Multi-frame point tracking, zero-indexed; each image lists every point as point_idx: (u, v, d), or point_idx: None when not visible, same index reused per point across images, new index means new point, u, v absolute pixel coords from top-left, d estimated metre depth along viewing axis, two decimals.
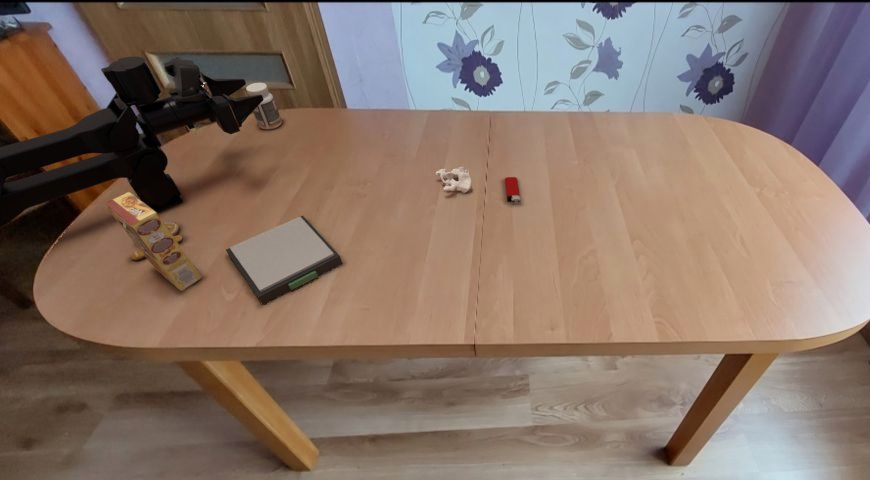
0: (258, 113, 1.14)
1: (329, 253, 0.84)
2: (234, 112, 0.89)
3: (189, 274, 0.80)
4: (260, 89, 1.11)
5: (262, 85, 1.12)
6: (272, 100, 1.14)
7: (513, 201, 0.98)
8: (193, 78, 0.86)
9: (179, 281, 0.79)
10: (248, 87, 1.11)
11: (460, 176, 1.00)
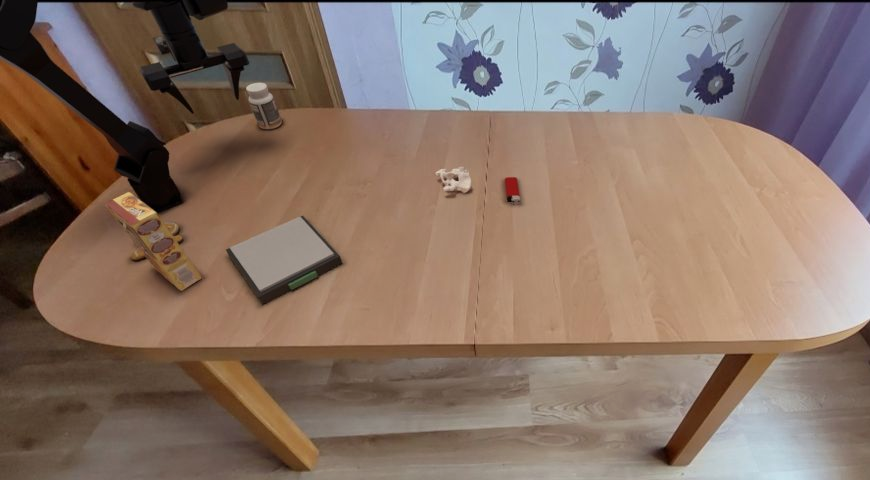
0: (258, 113, 1.14)
1: (329, 253, 0.84)
2: None
3: (189, 274, 0.80)
4: (260, 89, 1.11)
5: (262, 85, 1.12)
6: (272, 100, 1.14)
7: (513, 201, 0.98)
8: None
9: (179, 281, 0.79)
10: (248, 87, 1.11)
11: (460, 176, 1.00)
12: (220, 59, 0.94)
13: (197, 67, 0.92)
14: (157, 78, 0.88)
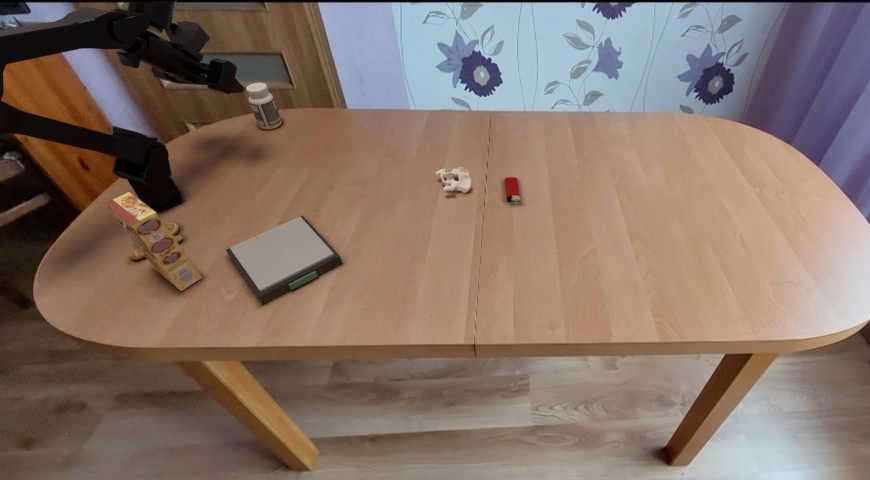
0: (258, 113, 1.14)
1: (329, 253, 0.84)
2: None
3: (189, 274, 0.80)
4: (260, 89, 1.11)
5: (262, 85, 1.12)
6: (272, 100, 1.14)
7: (513, 201, 0.98)
8: (202, 39, 0.93)
9: (179, 281, 0.79)
10: (248, 87, 1.11)
11: (460, 176, 1.00)
12: None
13: None
14: (159, 76, 0.97)
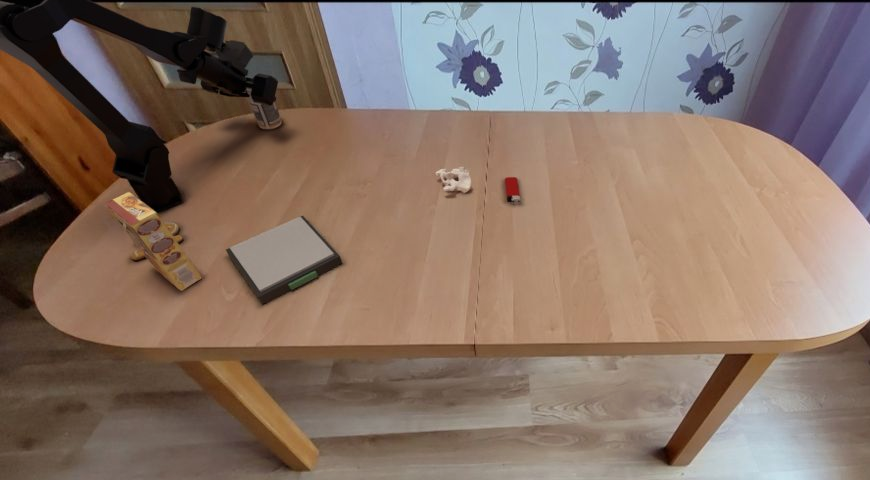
0: (258, 113, 1.14)
1: (329, 253, 0.84)
2: None
3: (189, 274, 0.80)
4: None
5: None
6: None
7: (513, 201, 0.98)
8: (247, 56, 1.04)
9: (179, 281, 0.79)
10: None
11: (460, 176, 1.00)
12: None
13: None
14: (207, 89, 1.08)
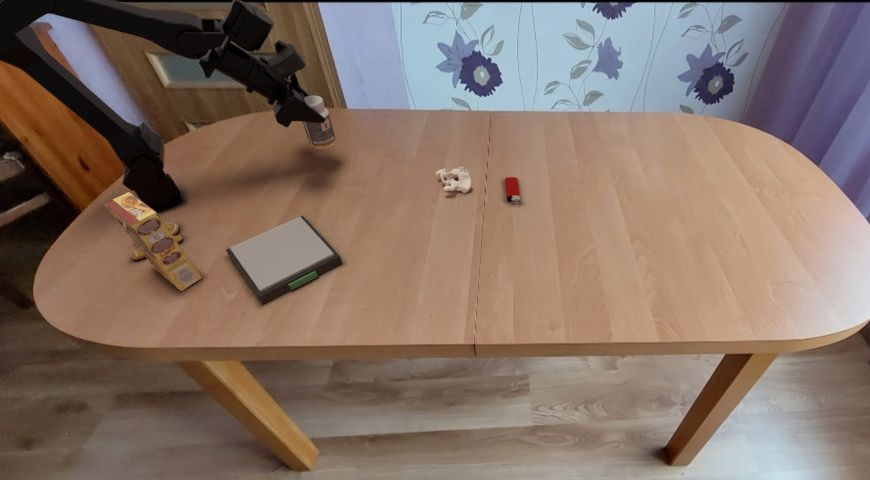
0: None
1: (329, 253, 0.84)
2: None
3: (189, 274, 0.80)
4: None
5: (317, 101, 0.96)
6: None
7: (513, 201, 0.98)
8: (293, 67, 0.88)
9: (179, 281, 0.79)
10: (305, 98, 0.96)
11: (460, 176, 1.00)
12: None
13: None
14: None
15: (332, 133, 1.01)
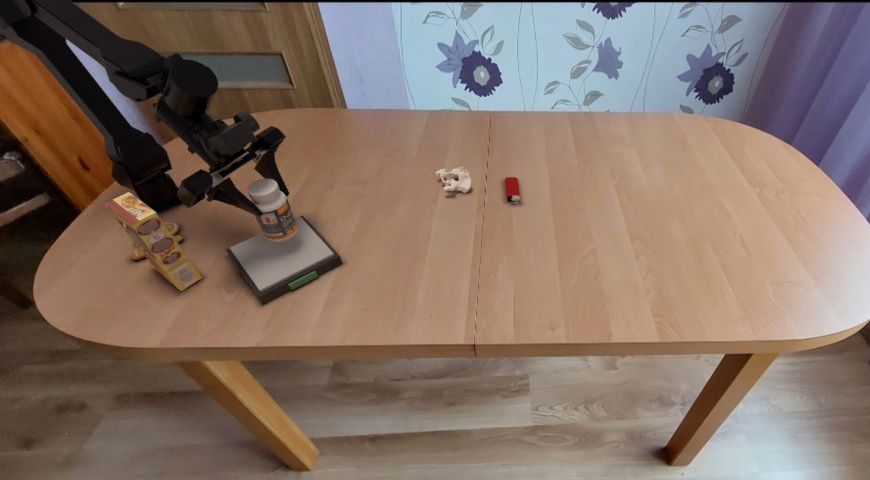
0: None
1: (329, 253, 0.84)
2: (211, 194, 0.71)
3: (189, 274, 0.80)
4: (250, 191, 0.75)
5: (263, 191, 0.75)
6: None
7: (513, 201, 0.98)
8: (223, 148, 0.69)
9: (179, 281, 0.79)
10: (264, 180, 0.77)
11: (460, 176, 1.00)
12: None
13: None
14: None
15: (280, 229, 0.79)
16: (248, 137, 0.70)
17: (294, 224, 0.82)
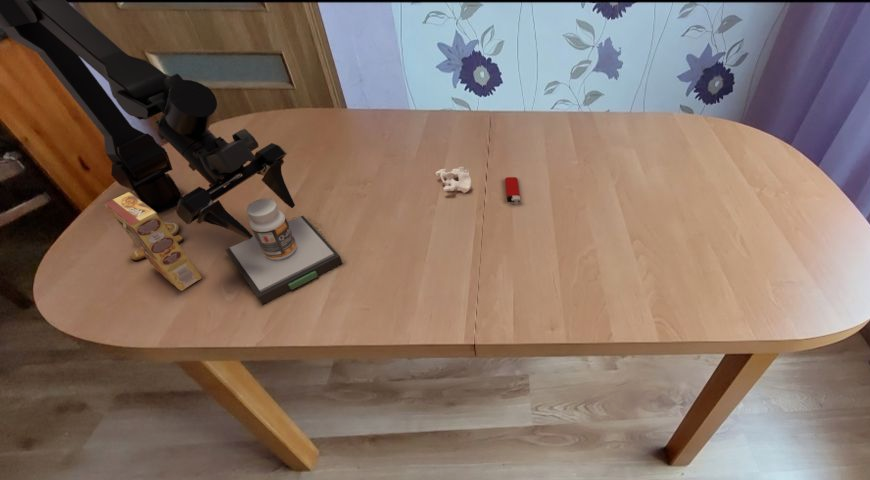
0: None
1: (329, 253, 0.84)
2: (200, 216, 0.71)
3: (189, 274, 0.80)
4: (249, 211, 0.76)
5: (262, 211, 0.76)
6: (258, 232, 0.78)
7: (513, 201, 0.98)
8: (221, 167, 0.70)
9: (179, 281, 0.79)
10: (264, 200, 0.78)
11: (460, 176, 1.00)
12: None
13: None
14: None
15: (279, 248, 0.81)
16: (246, 156, 0.70)
17: (293, 243, 0.83)
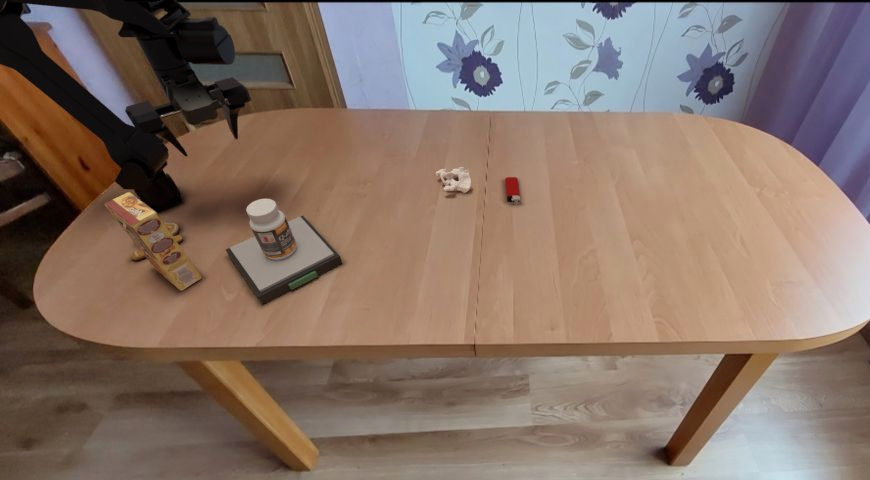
0: None
1: (329, 253, 0.84)
2: None
3: (189, 274, 0.80)
4: (249, 211, 0.76)
5: (262, 211, 0.76)
6: (258, 232, 0.78)
7: (513, 201, 0.98)
8: (182, 113, 0.77)
9: (179, 281, 0.79)
10: (264, 200, 0.78)
11: (460, 176, 1.00)
12: None
13: None
14: None
15: (279, 248, 0.81)
16: (209, 116, 0.78)
17: (293, 243, 0.83)
